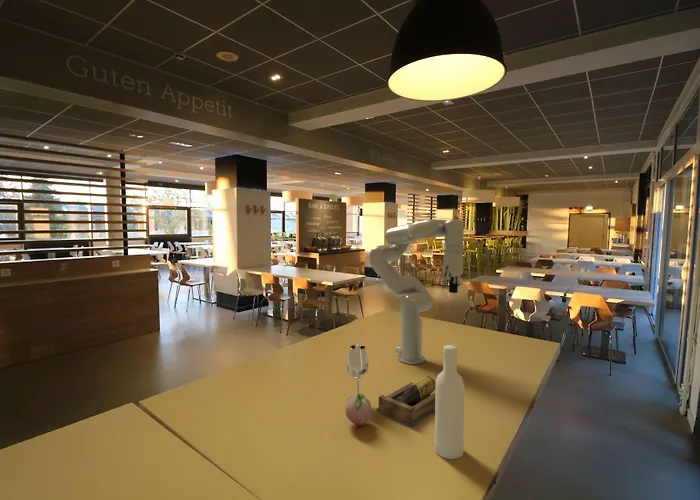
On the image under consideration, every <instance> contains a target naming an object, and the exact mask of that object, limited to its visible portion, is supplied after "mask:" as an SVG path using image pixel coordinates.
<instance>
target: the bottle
mask: <svg viewBox="0 0 700 500" xmlns="http://www.w3.org/2000/svg"><path fill="white" fill-rule="evenodd" d="M442 350H443V351H442V353H443V361H442V362H443V363H442V364H443V365H442V366H443V369H442V371H441V372H440V373H438V374H437V377H436V380H435V383H436V388H435V390H434V391H435V392H434V393H435V412H434V413H435V415H434V451H435V453H436V454H437V455H438V456H439V457H442V458H443V459H447V460H457V459H459V458H461V457H462V456H463V455H464V447H465V446H464V430H465V427H464V423H465V422H464V421H465V416H464V415H465V382H464V379H463V377H462V375H461V374H460V373H458V371H457V367H458V366H457V365H458V364H457V363H458V353H459V352H458V348H457V346H456V345H451V344H449V345H448V344H446V345H444V346H443V349H442Z"/></svg>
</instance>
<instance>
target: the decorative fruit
mask: <svg viewBox="0 0 700 500" xmlns="http://www.w3.org/2000/svg"><path fill="white" fill-rule="evenodd" d="M356 395H357V394H356ZM356 395H354V396H355V397H352V398H351V399H349V401H347V402H346V405H345V411H344V412H345V415H346V418H347V419H348V420H349V421H350V422H351V423H353V424H354V425H356V426H363V425H364V424H366V423H368V421H369V420H370V418H371V415H372V403H371V401H370V400H369V399H368V398H367V397H366V396H365V394H363V393H360V392H359V394H358V395H357V396H356Z"/></svg>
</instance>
